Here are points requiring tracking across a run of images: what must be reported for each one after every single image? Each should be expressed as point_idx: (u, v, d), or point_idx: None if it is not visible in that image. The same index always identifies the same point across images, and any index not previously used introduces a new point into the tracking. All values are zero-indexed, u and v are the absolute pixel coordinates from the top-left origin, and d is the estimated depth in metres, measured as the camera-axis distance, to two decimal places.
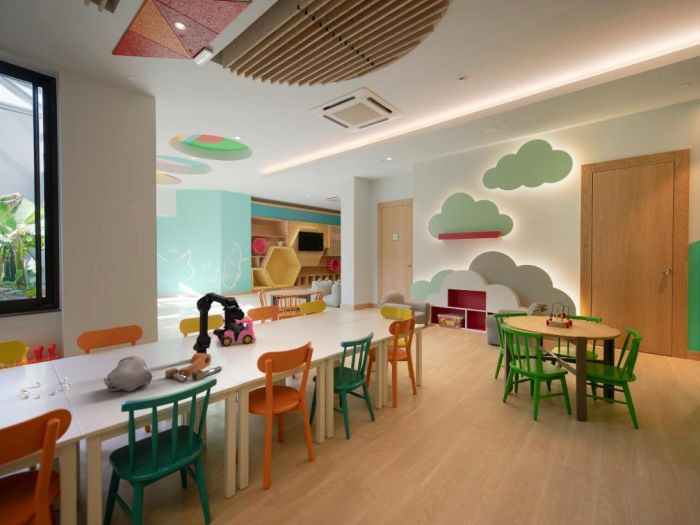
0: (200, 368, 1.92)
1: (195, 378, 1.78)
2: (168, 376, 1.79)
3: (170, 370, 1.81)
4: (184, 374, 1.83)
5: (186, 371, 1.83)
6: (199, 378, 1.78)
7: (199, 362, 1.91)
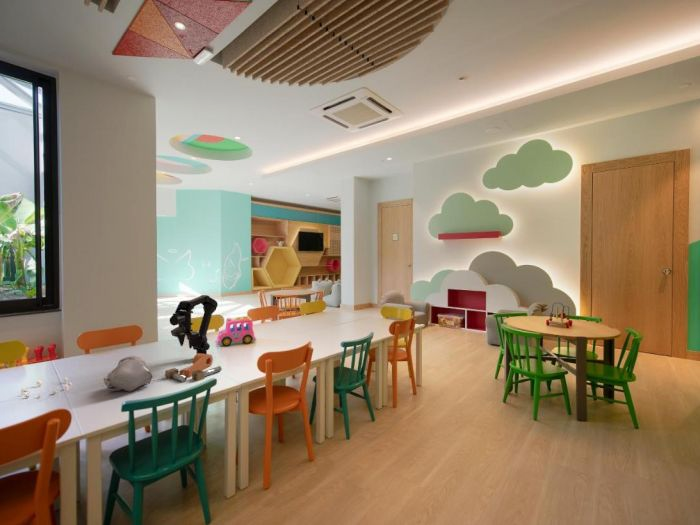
0: (201, 369, 1.91)
1: (195, 378, 1.78)
2: (168, 376, 1.79)
3: (170, 370, 1.81)
4: (185, 375, 1.82)
5: (187, 372, 1.82)
6: (199, 378, 1.78)
7: (200, 363, 1.90)
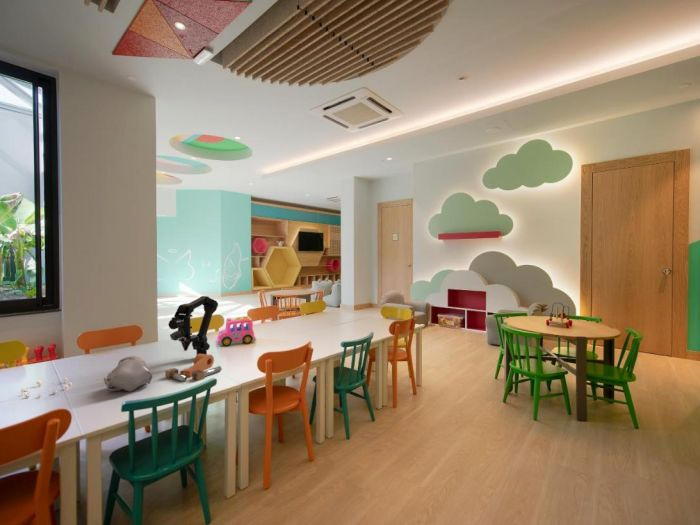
0: (202, 369, 1.91)
1: (195, 378, 1.78)
2: (168, 376, 1.79)
3: (170, 370, 1.81)
4: (185, 375, 1.82)
5: (187, 372, 1.81)
6: (199, 378, 1.78)
7: (201, 363, 1.90)
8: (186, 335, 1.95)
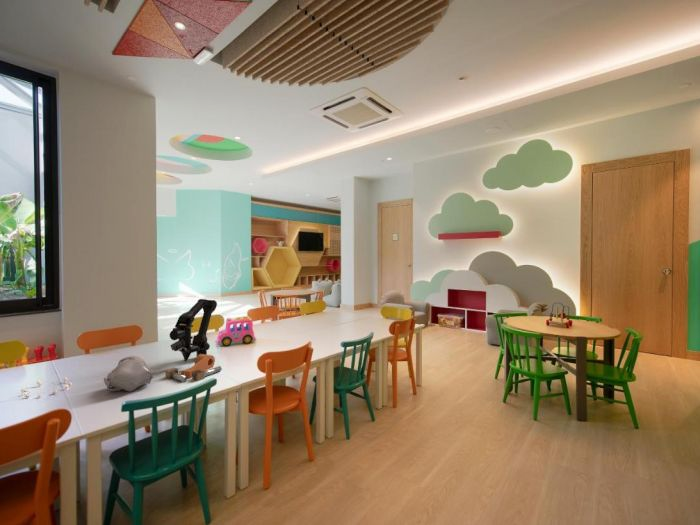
0: (203, 370, 1.90)
1: (195, 378, 1.78)
2: (168, 376, 1.79)
3: (170, 370, 1.81)
4: (186, 375, 1.81)
5: (187, 372, 1.81)
6: (199, 378, 1.78)
7: (202, 363, 1.89)
8: (187, 345, 1.95)
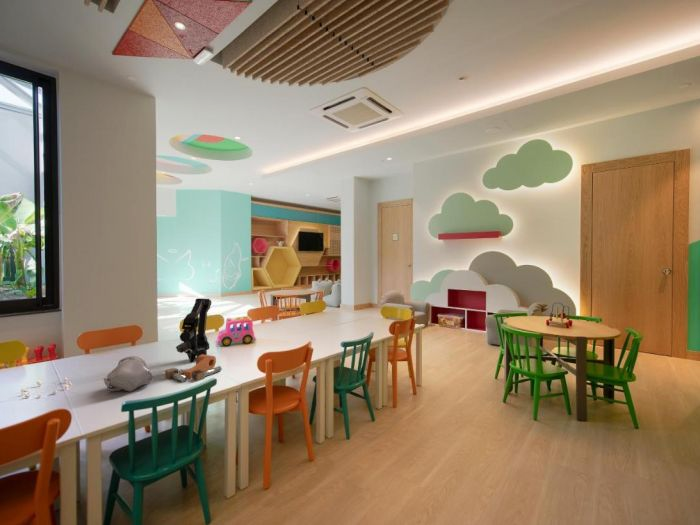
0: (203, 370, 1.89)
1: (195, 378, 1.78)
2: (168, 376, 1.79)
3: (170, 370, 1.81)
4: (186, 376, 1.81)
5: (188, 373, 1.80)
6: (199, 378, 1.78)
7: (202, 364, 1.88)
8: (192, 347, 1.92)
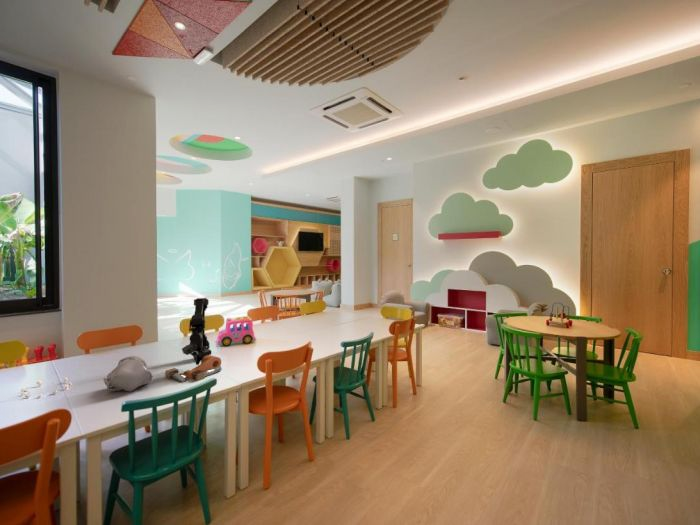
0: None
1: (195, 378, 1.78)
2: (168, 376, 1.79)
3: (170, 370, 1.81)
4: (187, 376, 1.80)
5: (189, 373, 1.79)
6: (199, 378, 1.78)
7: (205, 365, 1.87)
8: (198, 349, 1.89)
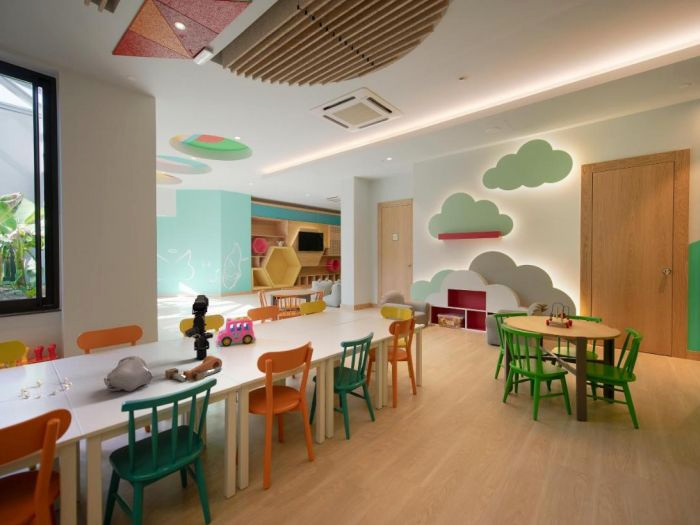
0: None
1: (195, 378, 1.78)
2: (168, 376, 1.79)
3: (170, 370, 1.81)
4: (186, 376, 1.80)
5: (187, 374, 1.79)
6: (199, 378, 1.78)
7: (204, 366, 1.86)
8: (200, 332, 1.95)
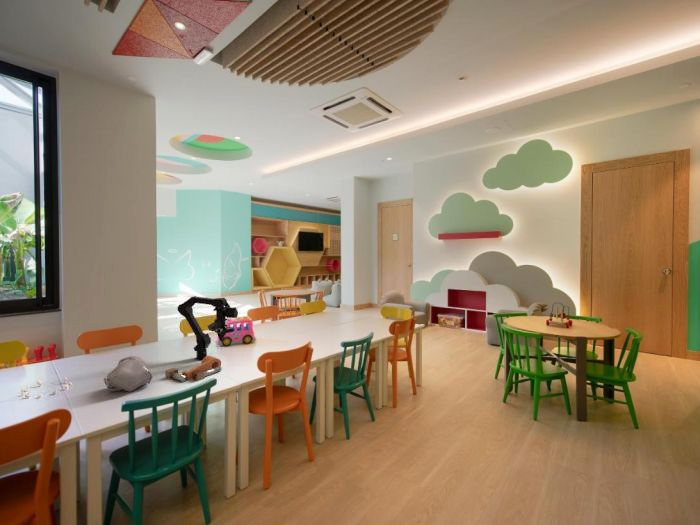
0: None
1: (195, 378, 1.78)
2: (168, 376, 1.79)
3: (170, 370, 1.81)
4: None
5: (186, 374, 1.79)
6: (199, 378, 1.78)
7: (203, 366, 1.85)
8: (222, 326, 2.08)
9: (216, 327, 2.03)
